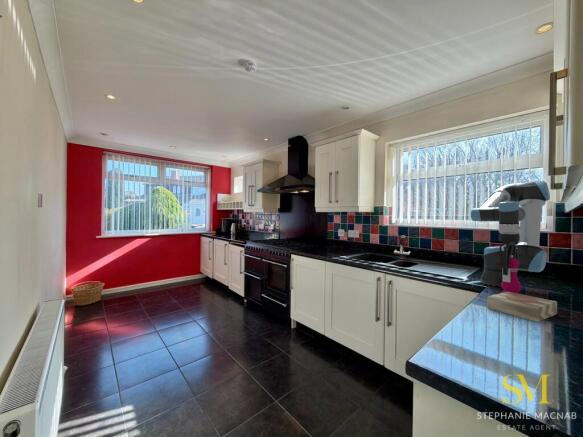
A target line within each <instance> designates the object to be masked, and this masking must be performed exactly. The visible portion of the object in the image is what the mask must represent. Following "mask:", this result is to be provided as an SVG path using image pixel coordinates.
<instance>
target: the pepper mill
mask: <svg viewBox="0 0 583 437" xmlns="http://www.w3.org/2000/svg"><path fill="white" fill-rule="evenodd" d="M518 266H519V261H518V260H517V259H515V258H513V255H511V256H510V264H509V269H510V282H504V281H502V283H501V287H500V288H502V289H503V290H502V293H504V292H512V293H517V294H521V293H520V291H521V290H522V285H521V283H520V281H519V279H518V271H519V270H517V269H518V268H517V267H518Z"/></svg>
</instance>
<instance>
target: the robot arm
mask: <svg viewBox="0 0 583 437" xmlns="http://www.w3.org/2000/svg"><path fill="white" fill-rule="evenodd" d="M550 200H551V195H550V189H549V186H548V183H547V182H546V181H544V180H540V181H536V180H535V181H528V182H519V183H510V184H506V185H503V186H500V187H499V188H497V189H496V190H494V191H493V192H492V193H491V194H490V197H489V199H488V200H487V201H485V202H484V204H482V206H480V207H476V208H475V207H474V208H471V211H470V219H471V221H473V222H480V223H481V222H483V223H484V222H498V233H499V234H498V241H499V242H502V246H501V245H500V246H487V247H485V248H484V249H483V250H484V251H483V272H482V275H481V277H480V283H481V284H482V283H483V285H485V284H487V285H486V286H490V285H492V286H491V287H495V286H498V287H497V288H502V287H501V283H502V281H504V282H510V269H509V264H510V256H511V255H513V258H515V259H517V260H518V261H519V266H518V267H517V268H518V269H517V270H518V271H524V272H529V273H532V272H534V273H540V272H542V271H544V269H545V267H546V263H547V259H548V253H547V252H546V251H544V248H543V247H542V246H541V245H540V237H541V222H542V208H543V206H545V205H546V202H548V201H550ZM516 243H517V244H516Z"/></svg>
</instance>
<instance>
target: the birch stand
mask: <svg viewBox="0 0 583 437" xmlns="http://www.w3.org/2000/svg"><path fill="white" fill-rule="evenodd" d="M486 305H487V306H486V308H487V309H489V310H493V311H497V312H500V313H503V314H504V313H505V314H507V315H512V316H515V317H519V318H524V319H527V320H530V321H535V322H541V321H543V320H546V319H548V318H551V317H553V316H555V315H556V316H557V314H558V301H556V300H550V299H544V298H541V297H540V298H539V297H535V296H531V295H530V296H529V295H526V294H521V293H520V294H517V293H512V292H504V293H503V292H500V293H496V294H492V295H488V296H487V298H486Z"/></svg>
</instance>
